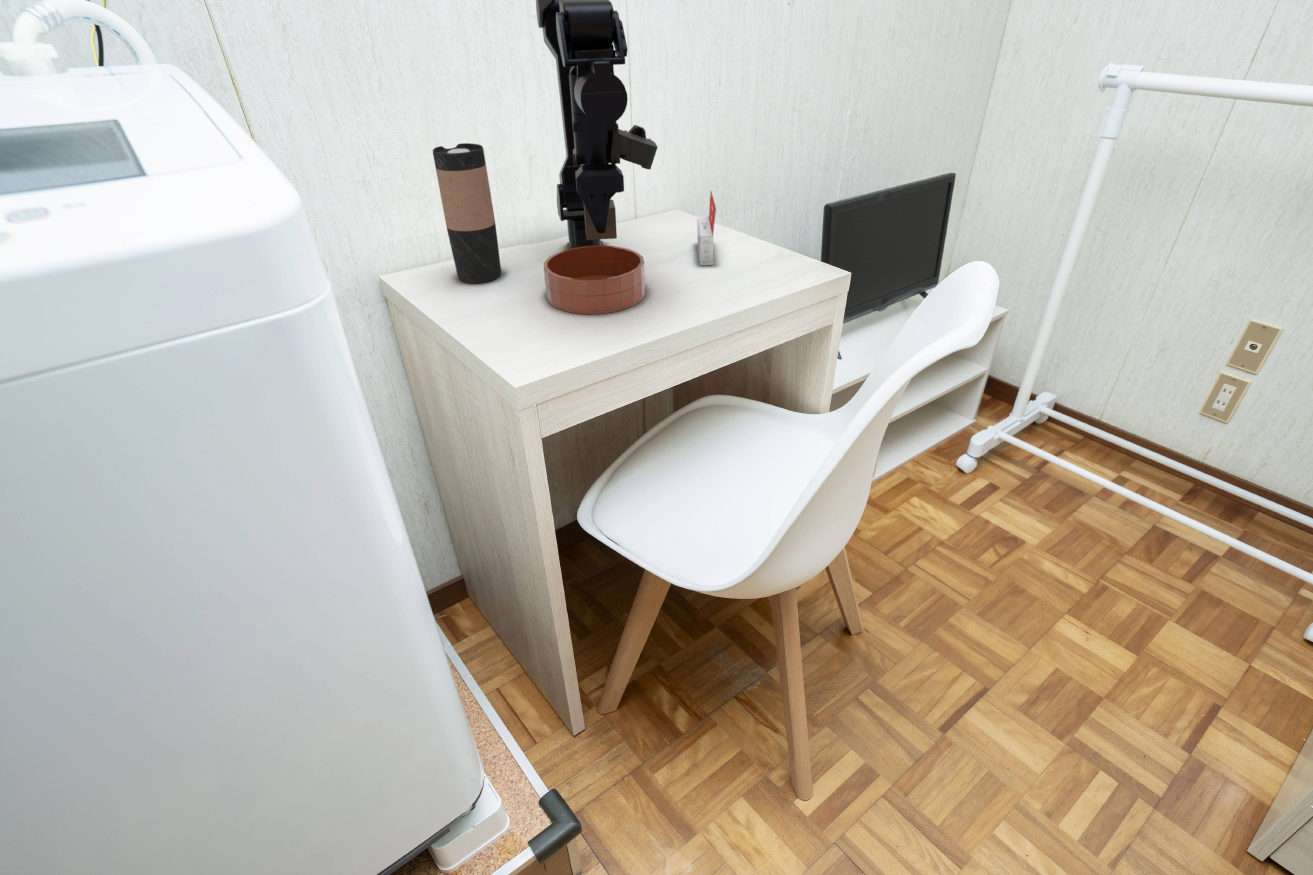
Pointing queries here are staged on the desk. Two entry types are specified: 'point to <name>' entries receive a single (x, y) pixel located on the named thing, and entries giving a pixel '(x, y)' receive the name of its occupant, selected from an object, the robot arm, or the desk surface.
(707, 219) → the ink cartridge box
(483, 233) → the travel mug
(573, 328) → the desk surface
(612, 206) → the block
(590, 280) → the bowl
